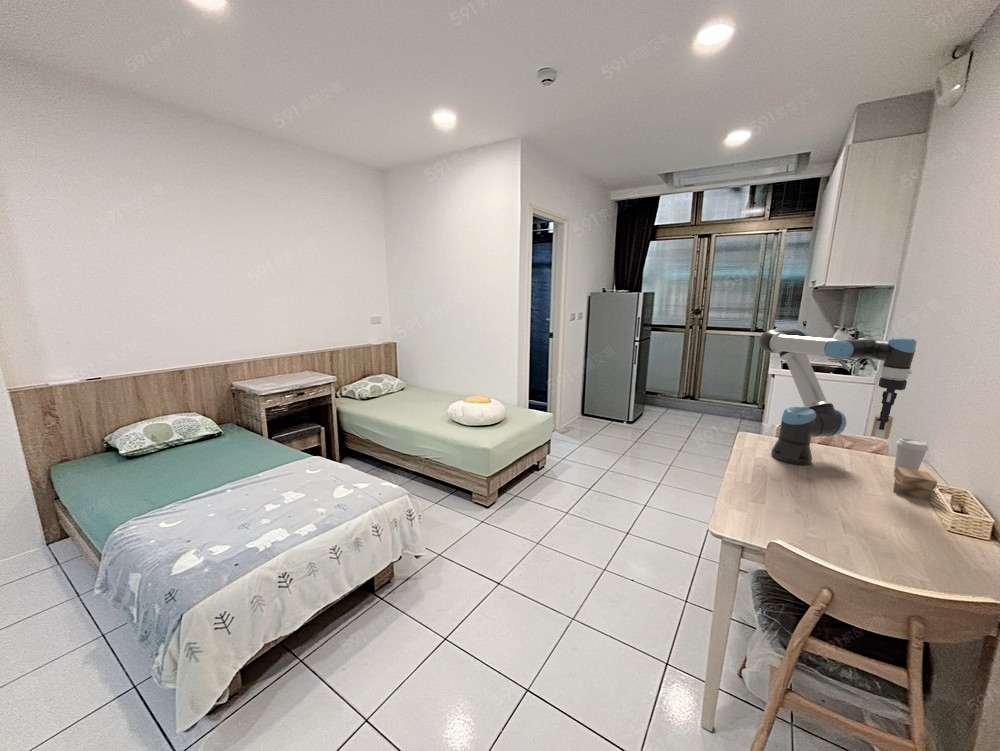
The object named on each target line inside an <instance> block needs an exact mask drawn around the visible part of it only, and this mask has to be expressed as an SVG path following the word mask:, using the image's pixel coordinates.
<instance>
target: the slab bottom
mask: <svg viewBox="0 0 1000 751" xmlns="http://www.w3.org/2000/svg"><path fill="white" fill-rule="evenodd" d="M893 493H896V494H901V495H904V496H908V497H911V498H915V499H919V500H922V501H926V502H930V498H931V495H932V491H929V490H924V489H919V488H913V487H908V486H903V485H901V484H900V483H899V482H898V480H897V479H896V478H895V477H894V482H893Z"/></svg>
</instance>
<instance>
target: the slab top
mask: <svg viewBox="0 0 1000 751" xmlns="http://www.w3.org/2000/svg"><path fill="white" fill-rule="evenodd" d="M893 473H894V472H893ZM893 477H894V479H895V478H896V479H897V480H898V482H899V483H900V484H901V485H903V486H908V487H913V488H919V489H924V490H929V491H931V492H934V491H933V489H934V488H935V489H936V488H937V484H938V481H937V479H936V478H934V476H932V475H931V474H930V473H929V472H928V471H923V470H913V469H907V468H902V467H896V469H895V473H894V474H893Z"/></svg>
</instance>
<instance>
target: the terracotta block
mask: <svg viewBox="0 0 1000 751" xmlns="http://www.w3.org/2000/svg"><path fill="white" fill-rule="evenodd" d="M879 418H880V414H879V413H876V414H875V416H874V421H873V424H872V430H871V433H870V436H871V437H874V438H876V437H875V432H876V428H877V424H878V421H876V419H879ZM893 422H894V416H891V415H889V418H888V424H887V428H886V432H885V436H884V438H883V439H884V440H889V437H890V433H891V429H892V425H893ZM878 438H880V437H878ZM880 439H881V438H880Z"/></svg>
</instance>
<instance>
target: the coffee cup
mask: <svg viewBox="0 0 1000 751" xmlns="http://www.w3.org/2000/svg"><path fill="white" fill-rule="evenodd" d="M895 444H896V451H895V452H896V453H895V460H894V469H893V473H895V469H896V467H902V468H907V469H913V470H919V469H920V467H921V465H922V462H923V460H924V457H925V455H926V453H927V451H929V446H928V444H927V442H925V441H923V440H920V439H916V438H911V437H910V438H909V437H900V438H899V439H898V440H896V442H895ZM919 471H920V470H919Z"/></svg>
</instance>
